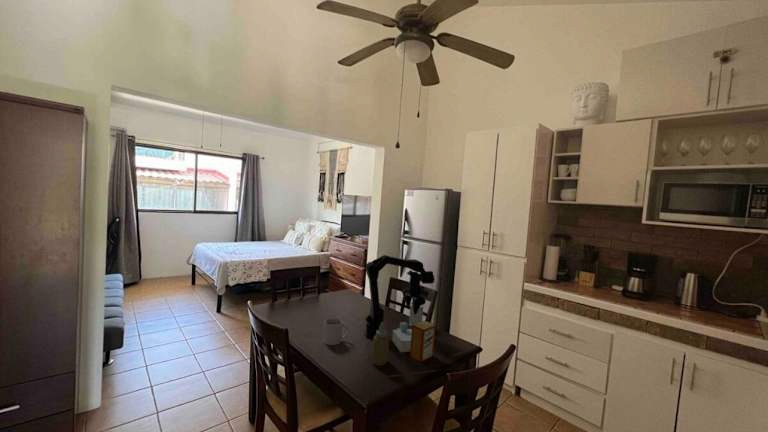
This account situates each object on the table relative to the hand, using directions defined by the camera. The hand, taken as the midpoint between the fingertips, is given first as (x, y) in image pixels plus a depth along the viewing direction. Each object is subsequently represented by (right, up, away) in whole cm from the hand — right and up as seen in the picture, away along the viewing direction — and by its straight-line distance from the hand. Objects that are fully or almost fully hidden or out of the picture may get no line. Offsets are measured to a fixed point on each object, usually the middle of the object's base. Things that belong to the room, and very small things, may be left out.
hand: (411, 311), depth 169 cm
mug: (-40, -11, -14) cm, 44 cm away
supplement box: (+3, -13, +13) cm, 19 cm away
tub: (-4, -13, -14) cm, 20 cm away
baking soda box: (+2, -15, -24) cm, 28 cm away
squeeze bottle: (-17, -14, -32) cm, 39 cm away
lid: (-4, -8, -14) cm, 16 cm away
